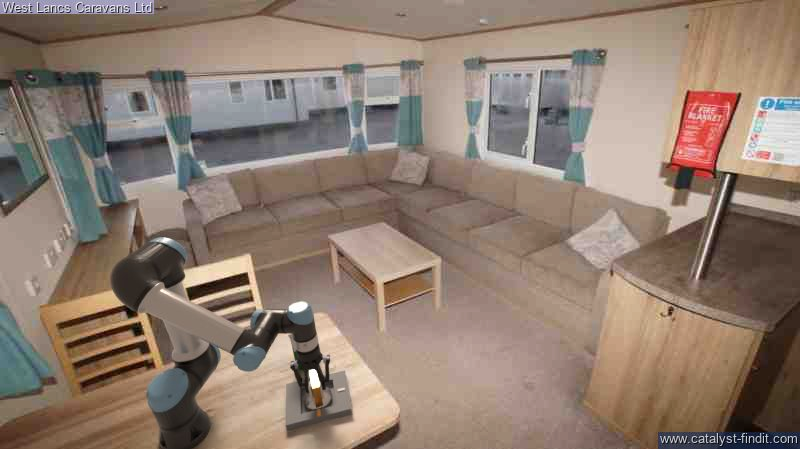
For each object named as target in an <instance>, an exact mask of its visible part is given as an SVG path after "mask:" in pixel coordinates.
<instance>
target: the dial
mask: <svg viewBox="0 0 800 449" xmlns="http://www.w3.org/2000/svg"><path fill="white" fill-rule="evenodd" d="M308 374H309V379H310V378H311V384H312V390H313V395H314V398H313V401H311V398H310V393H306V394H305V395H304V405H305V407H306V408H307V409H308V410H310V411H315V410H318V409H323V408H326V407H328V406H329V404H330V403H331V401H332V392H331V390H330V389H329V388H328V387H326V390H324V399H322V396H321V391H320V385H319V381H318V376H317V373H316V371H315V370H314V369H309V370H308Z"/></svg>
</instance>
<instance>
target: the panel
mask: <svg viewBox="0 0 800 449" xmlns="http://www.w3.org/2000/svg"><path fill="white" fill-rule="evenodd" d="M323 375H324V377H325V376H326V375H325V374H323ZM309 381H311V378H310V377H309V378H308V382H309ZM318 381H319V378H318ZM325 384H326V387H328V388H329V389H330V390H331V392H332V401H331V403H330V404H329V406H328V407H326V408H323V409H318V410H315V411H310V410H308V409H307V408H306V407H305V405H304V395H305V394H306V389H305V387H304V386H302V387H299V385H298V382H297V381H294V382H290V383H286V385H285V387H286V388H285V427H286V431H291V430H294V429H298V428H302V427H306V426H309V425H313V424H314V425H315V424H317V423H322V422H326V421H329V420H333V419H337V418H340V417H344V416H349V415H353V409H352V402H351V397H350V392H349V386H348V380H347V374H346V370H341V371H337V372H332V373H329V382H325Z"/></svg>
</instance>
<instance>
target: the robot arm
mask: <svg viewBox="0 0 800 449" xmlns="http://www.w3.org/2000/svg"><path fill="white" fill-rule="evenodd" d="M187 260H188V254H187V250H186V249H185V248H184V246H183V245H181V244H180V243H179V242H178V241H176V240H175V239H173V238H170V237H163V236H160V237H156V238H153V239H151V240H150V241H147V242H146V243H144V244H143V245H142V246H141V247H138V248H137V249H136V250H135V251H133V252H131V253H130V254H128V255H127V256H125V257H123V258H121V259H120V260H119V261H118V262H117V263H116V264H115V265H114V266H113V268H112V270H111V272H110V278H109V280H110V286H111V290H112V292H113V294H114V296H115V297H116V298H117V300H119V301H120V303H122V304H123V305H124V306H125V307H127V308H129V309H130V310H131V311H133V312H135V313H138V314H140V315H141V314H142V315H143V314H145V313H147V314H149V315H151V316H153V317H155V318H157V319H160V320H162V321H163V322H162V323H163V324H164V326H165V330H166V331H167V334H168V337H169V339H170V342H171V344H172V346H173V350H172V352H171V358H172V361H173V364H174V366H173V367H172V368H168V369H166V370H163V372H162V373H159V374H157V375H156V376H155V377H154V378H153V379H152V380H150V383H149V384H148V386H147V389H146V392H145V393H146V395H145V396H146V399H147V404H148V405H147V406H148V407H149V409H151V412H152V414H153V416H154V418H155V420H156V422H157V425H158V428H159V429H158V443H159V446H160V448H161V449H194V448H195V447H197V446H199V444H201V442H202V441H204V439H205V438H206V437H207V435H208V433H209V432H210V430H211V425H212V424H211V419H210V416H209V414H208V413H207V411H205V410H204V409H203V408H202V407H200V405H199V404H198V403H197V402H198V401H197V399H196V397H197V395H198V394H199V392H200V391H201V389H202V388H203V387H204V386H205V384H206V382H207V381H208V380H209V379H210V377H212V376H211V375H213V373H214V372H215V371H216V369H217V367H218V366H219V364H220V361H221V357H222V354H221V351H220V350H223V351H225V352H226V353H229V354H230V355H232V356H233V359H232V361H233V364H234V366H235V367H237V368H238V370H240V371H243V372H247V373H249V372H254V371H256V370H257V369H258V368H259V367H260V366H261V364H262V363H263V361H264V360H265V358H266V357H267V354H268V352H269V350H270V349H271V346H272V345H273V344H274V342H275V340H276V338H277V337H278V334H289V333H291V334H292V336H293V340H294V345H295V348H296V354H297V360H296V361H295V360H290V364H289V366H290V367H289V368H290V369H291V371H292V372H293V374H294V376H295V380H296V382H298V385H299V387H302V386H304V387H305V389H306V393H310V398H311V401H313V398H314V395H313V390H312V384H311V381H309V382H308V379H309V370H312V369H311V368H314V369H313V370H315V371H316V373H317V377H318V378H319V385H320V391H321V396H322V399H324V390H326V384H325V382H329V374H330V367H329V366H330V363H331V355H330V354H327V355H323V353H321V348H320V343H319V336H318V332H317V326H316V322H315V314H314V312H313V308H312V305H311V303H310V302H308V301H304V300H300V301H298V302H297V301H296V302H292V303H291V304H290V305H289V306H288V308H280V309H279V308H260V309H256V310H254V311H253V313H252V314H251V318H250V322H249V323H250V324H249V325H250V329H251V330H248V329H246V328H244V327H242V326H240V325H238V324H236V323H234V322H232V321H231V320H228V319H227V318H225V317H222V316H221V315H218V314H216V313H214V312H213V311H211V310H208V309H207V308H205V307H203V306H200V304H199V305H198V304H197V303H196V302H193V301H191V300H189V297H188V295H187V292H186V290H185V287H184V284H183V282H184V281H185V279H186V273H185V270H184V267H183V266H184V265H186V262H187ZM322 361H323V364H324V371H325V372H324V373H325V374H324V373H323V371H322V368H321V365H320V364H321V362H322ZM298 364H299V365H300V366H302V367H303V368H304V370H303V371H304V372H303V373H304V374H303V376H304V378H303V376H302V374H301V370H299V368H298ZM324 375H326V376H325V377H324Z"/></svg>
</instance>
